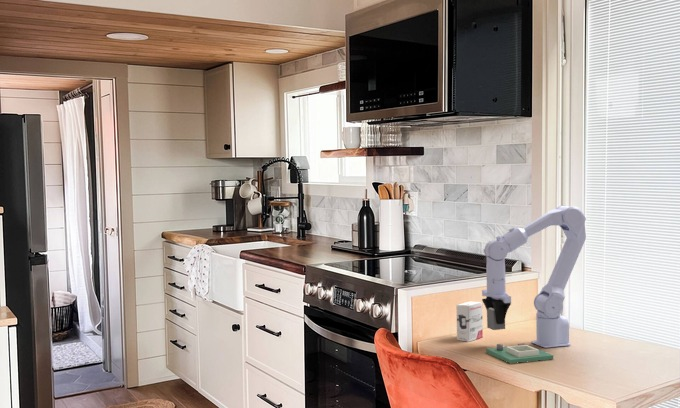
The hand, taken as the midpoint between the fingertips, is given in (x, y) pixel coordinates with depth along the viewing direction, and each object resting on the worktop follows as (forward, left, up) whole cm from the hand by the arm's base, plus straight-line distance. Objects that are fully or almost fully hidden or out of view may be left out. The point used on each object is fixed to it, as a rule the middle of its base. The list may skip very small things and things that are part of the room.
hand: (496, 322), depth 215 cm
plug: (0, 0, -2) cm, 2 cm away
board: (0, +13, -7) cm, 15 cm away
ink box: (+3, -12, -8) cm, 15 cm away
